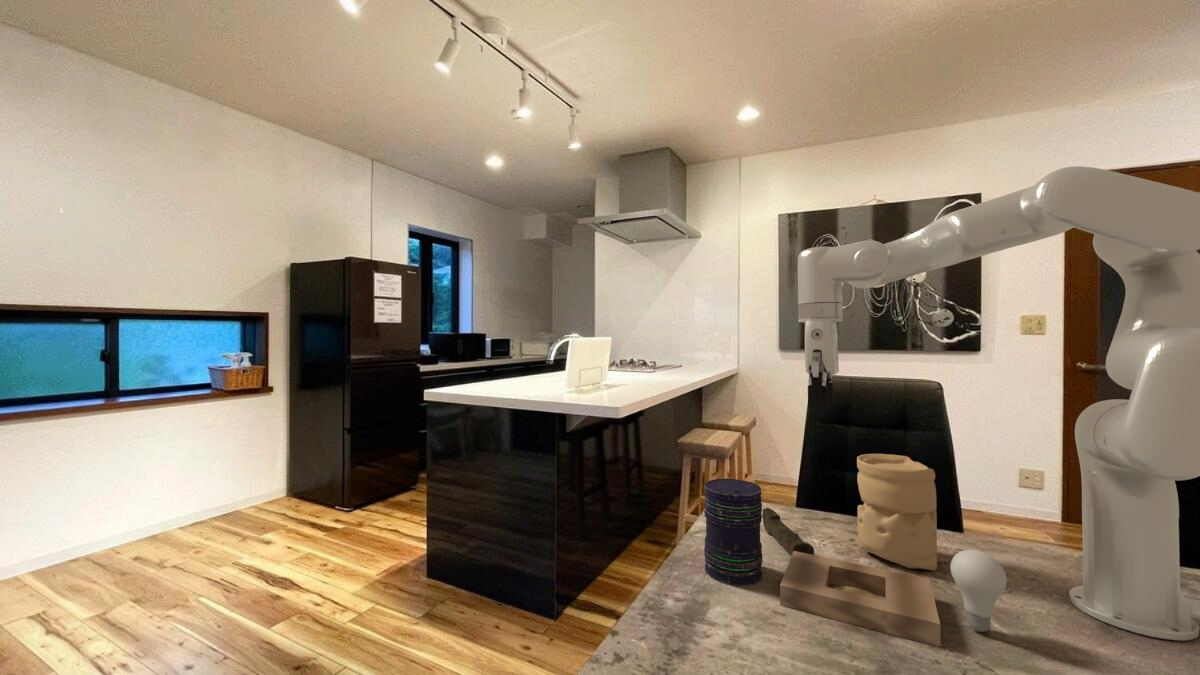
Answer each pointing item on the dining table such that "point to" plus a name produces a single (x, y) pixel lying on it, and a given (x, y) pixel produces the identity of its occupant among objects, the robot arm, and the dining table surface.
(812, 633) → the dining table surface
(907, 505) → the container
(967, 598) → the lightbulb
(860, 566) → the holder
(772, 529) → the hand tool
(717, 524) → the navy ridged cylinder
